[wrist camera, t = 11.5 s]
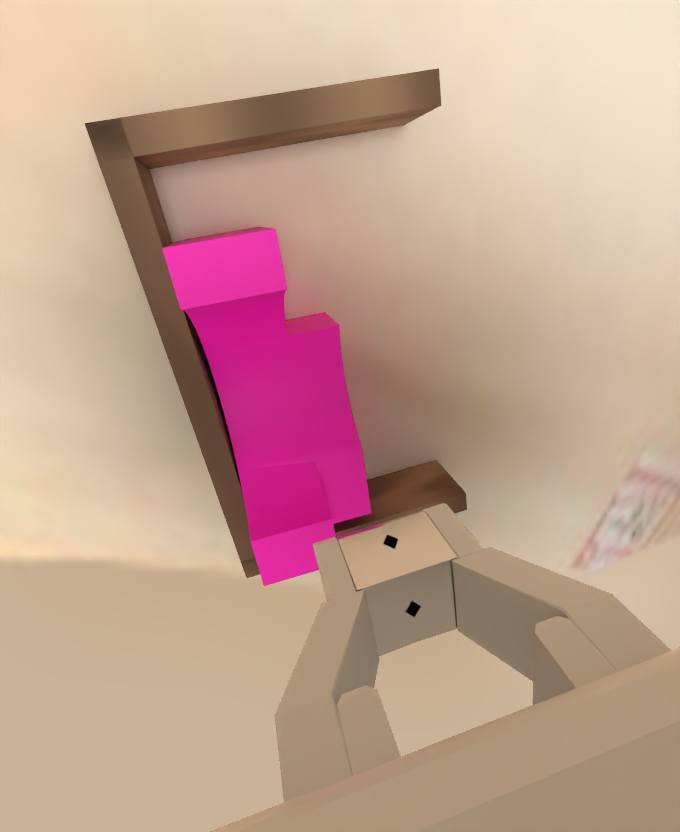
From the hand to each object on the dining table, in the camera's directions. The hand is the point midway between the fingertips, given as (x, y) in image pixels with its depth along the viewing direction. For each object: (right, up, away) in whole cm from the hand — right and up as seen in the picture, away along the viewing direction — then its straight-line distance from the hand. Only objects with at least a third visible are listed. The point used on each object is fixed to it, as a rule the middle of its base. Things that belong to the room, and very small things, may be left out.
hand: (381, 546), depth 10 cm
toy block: (-4, +5, +15) cm, 17 cm away
